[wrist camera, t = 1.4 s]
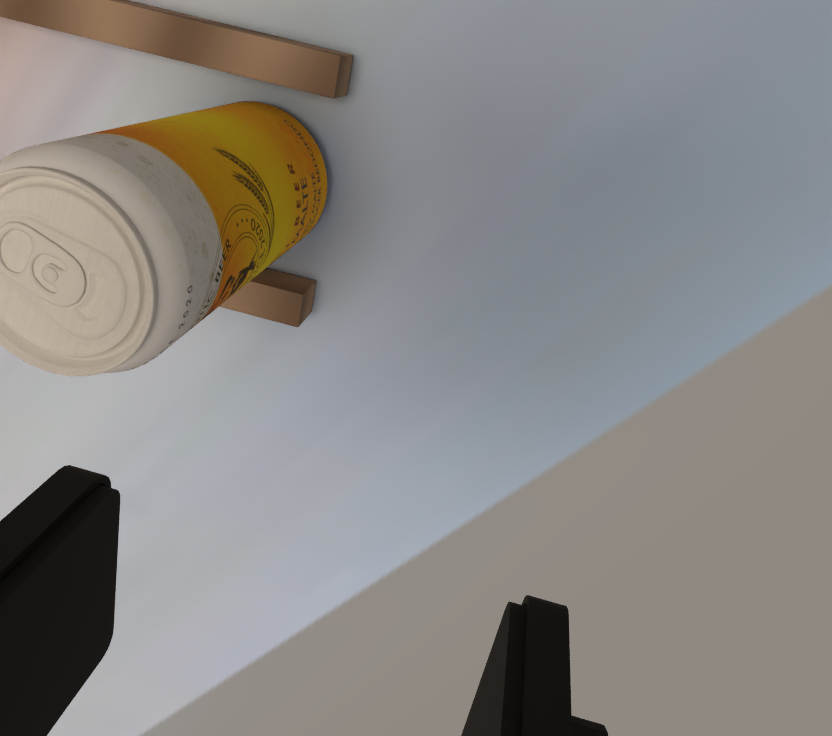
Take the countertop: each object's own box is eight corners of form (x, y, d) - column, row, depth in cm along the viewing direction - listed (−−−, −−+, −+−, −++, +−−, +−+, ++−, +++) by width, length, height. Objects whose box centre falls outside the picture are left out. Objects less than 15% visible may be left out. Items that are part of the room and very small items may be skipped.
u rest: (353, 54, 30) (325, 57, 26) (311, 311, 34) (282, 344, 31) (-242, -89, 31) (-347, -106, 27) (-204, 175, 36) (-289, 191, 32)
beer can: (290, 272, 34) (113, 432, 20) (173, 193, 33) (-91, 303, 19) (359, 156, 31) (209, 249, 18) (233, 68, 30) (-22, 95, 17)
